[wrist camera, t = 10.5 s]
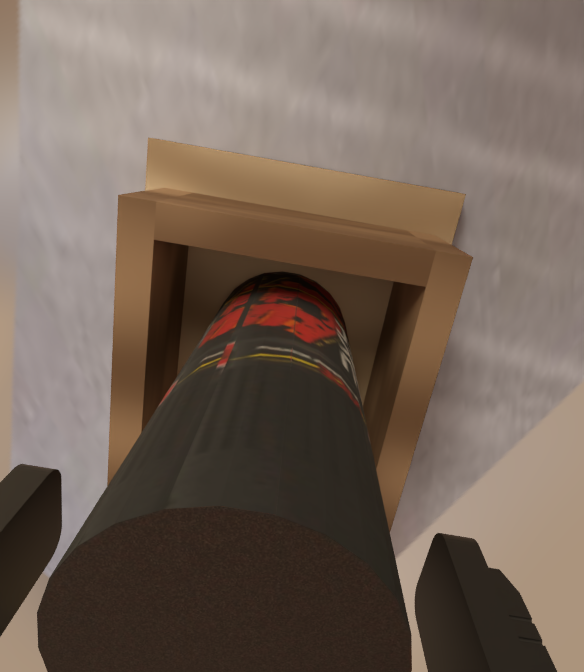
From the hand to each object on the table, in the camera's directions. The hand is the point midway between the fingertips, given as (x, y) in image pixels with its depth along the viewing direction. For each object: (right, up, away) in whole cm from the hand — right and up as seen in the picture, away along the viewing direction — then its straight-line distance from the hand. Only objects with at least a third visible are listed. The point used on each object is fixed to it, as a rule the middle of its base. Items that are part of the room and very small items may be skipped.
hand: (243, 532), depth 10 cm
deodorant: (+1, +4, +12) cm, 12 cm away
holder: (+1, +4, +12) cm, 13 cm away
